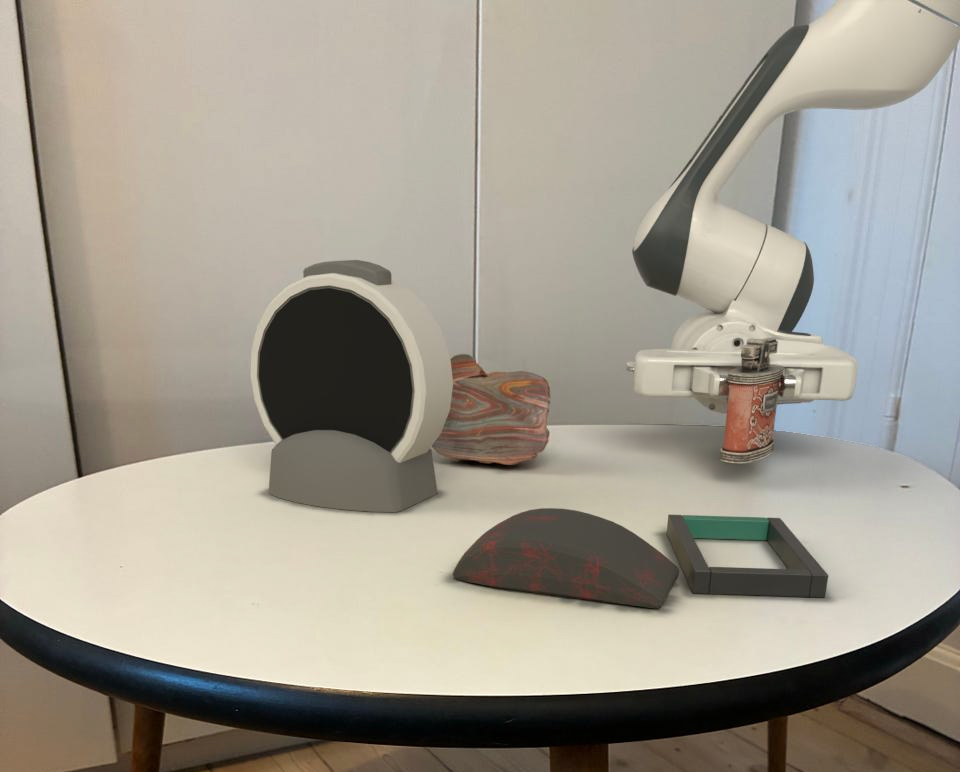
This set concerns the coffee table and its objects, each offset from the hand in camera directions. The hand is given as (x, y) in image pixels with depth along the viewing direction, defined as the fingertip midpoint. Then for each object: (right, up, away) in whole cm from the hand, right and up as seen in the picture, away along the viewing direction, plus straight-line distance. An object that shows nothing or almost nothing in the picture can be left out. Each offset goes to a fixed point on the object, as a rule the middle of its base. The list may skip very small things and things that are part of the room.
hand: (757, 387), depth 89 cm
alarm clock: (-35, -10, -3) cm, 36 cm away
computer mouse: (-19, -18, -23) cm, 35 cm away
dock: (-6, -17, -19) cm, 26 cm away
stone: (-23, -5, +10) cm, 25 cm away
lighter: (0, -5, +3) cm, 6 cm away
